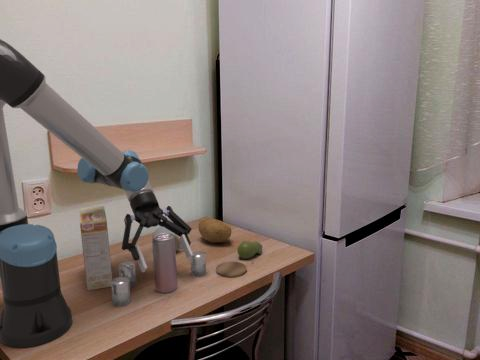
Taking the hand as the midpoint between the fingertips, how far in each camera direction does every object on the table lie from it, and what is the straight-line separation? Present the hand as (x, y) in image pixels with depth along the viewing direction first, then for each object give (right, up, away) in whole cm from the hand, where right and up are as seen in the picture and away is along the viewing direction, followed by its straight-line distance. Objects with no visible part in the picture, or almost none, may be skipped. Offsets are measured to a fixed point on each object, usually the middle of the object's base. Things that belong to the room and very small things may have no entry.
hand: (168, 263), depth 114 cm
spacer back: (-12, -7, +5) cm, 15 cm away
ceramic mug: (-4, -2, +29) cm, 30 cm away
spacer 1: (-11, -9, -5) cm, 15 cm away
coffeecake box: (-22, -6, +9) cm, 24 cm away
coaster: (+17, -5, +12) cm, 21 cm away
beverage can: (-1, -7, +2) cm, 8 cm away
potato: (+11, 0, +37) cm, 38 cm away
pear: (+23, -2, +24) cm, 33 cm away
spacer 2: (+7, -5, +11) cm, 14 cm away
